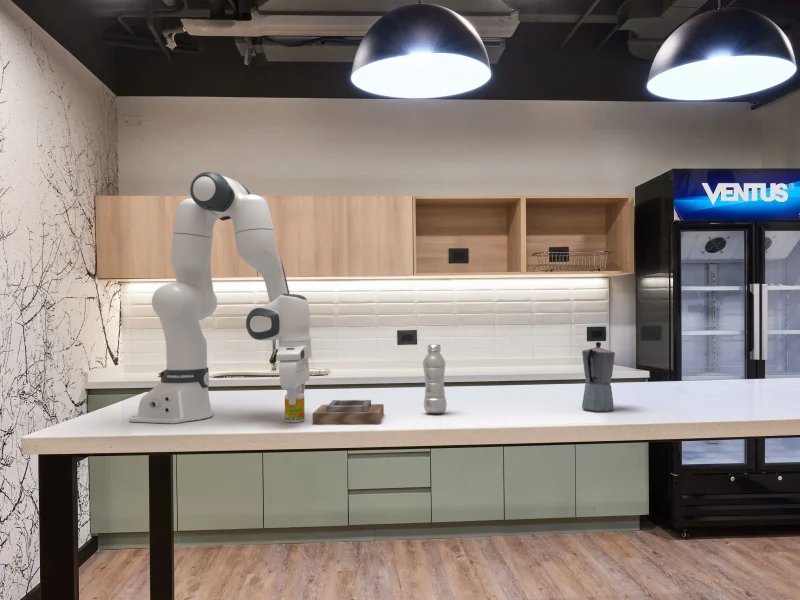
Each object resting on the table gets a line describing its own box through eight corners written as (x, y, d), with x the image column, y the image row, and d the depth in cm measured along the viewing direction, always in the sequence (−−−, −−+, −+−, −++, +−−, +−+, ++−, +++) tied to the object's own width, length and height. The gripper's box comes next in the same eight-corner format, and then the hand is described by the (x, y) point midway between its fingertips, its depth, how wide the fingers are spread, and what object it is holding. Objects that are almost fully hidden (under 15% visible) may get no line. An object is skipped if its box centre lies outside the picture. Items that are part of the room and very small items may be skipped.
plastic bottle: (445, 415, 161) (444, 345, 161) (422, 415, 162) (420, 345, 163) (448, 411, 167) (447, 344, 168) (425, 411, 169) (424, 344, 169)
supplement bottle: (287, 423, 153) (286, 387, 153) (283, 420, 158) (282, 385, 158) (306, 421, 156) (306, 386, 156) (302, 418, 160) (301, 384, 161)
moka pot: (620, 407, 170) (619, 341, 171) (609, 416, 157) (607, 344, 158) (588, 405, 176) (587, 340, 176) (574, 413, 163) (573, 343, 163)
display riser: (312, 424, 152) (312, 407, 152) (322, 414, 166) (322, 399, 166) (379, 424, 151) (379, 407, 151) (383, 414, 165) (383, 399, 165)
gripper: (292, 349, 168) (294, 396, 168) (274, 354, 147) (276, 408, 147) (313, 348, 168) (315, 395, 167) (298, 354, 147) (300, 407, 147)
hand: (296, 401), depth 157 cm, fingers open, 8 cm apart
